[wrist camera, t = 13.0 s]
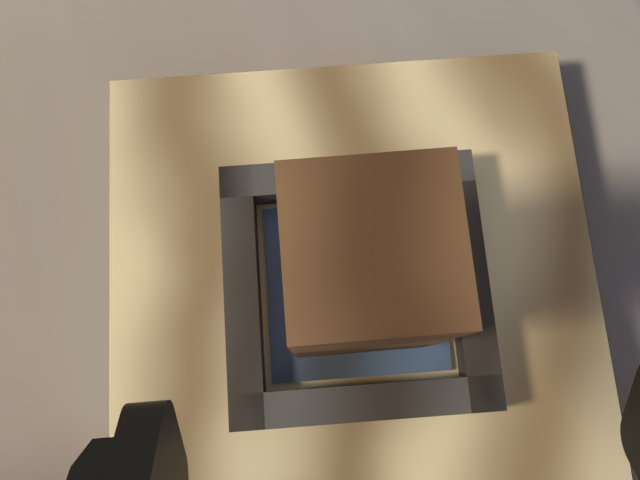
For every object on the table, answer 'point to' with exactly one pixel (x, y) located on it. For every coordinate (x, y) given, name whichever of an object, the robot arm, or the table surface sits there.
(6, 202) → the table surface
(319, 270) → the walnut block
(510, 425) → the base board
